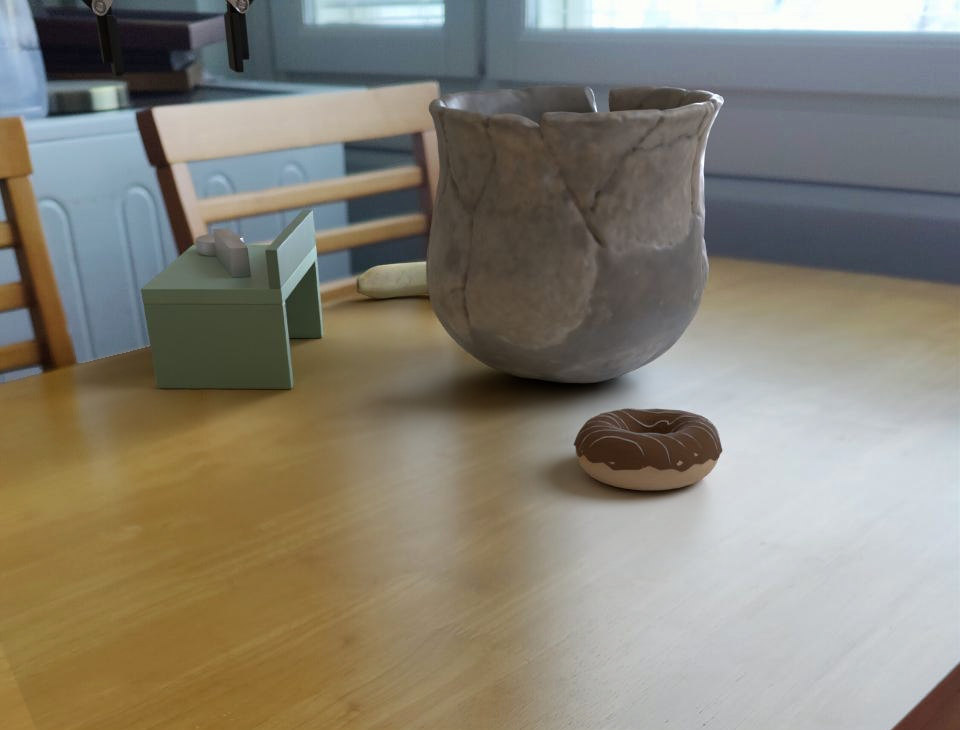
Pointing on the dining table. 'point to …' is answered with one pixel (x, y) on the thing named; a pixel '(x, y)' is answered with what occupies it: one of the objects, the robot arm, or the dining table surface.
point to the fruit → (393, 280)
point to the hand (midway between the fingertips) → (178, 72)
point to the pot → (569, 226)
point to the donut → (648, 448)
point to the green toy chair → (235, 314)
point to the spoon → (226, 251)
